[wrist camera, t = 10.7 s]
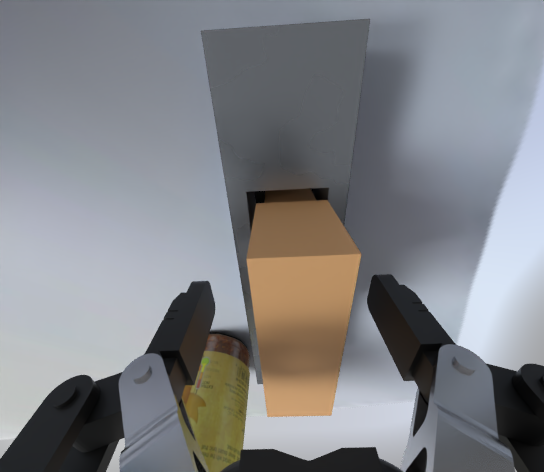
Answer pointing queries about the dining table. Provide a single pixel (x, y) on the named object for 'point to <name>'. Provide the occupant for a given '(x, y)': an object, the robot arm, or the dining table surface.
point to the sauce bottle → (220, 401)
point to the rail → (284, 118)
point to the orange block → (300, 299)
